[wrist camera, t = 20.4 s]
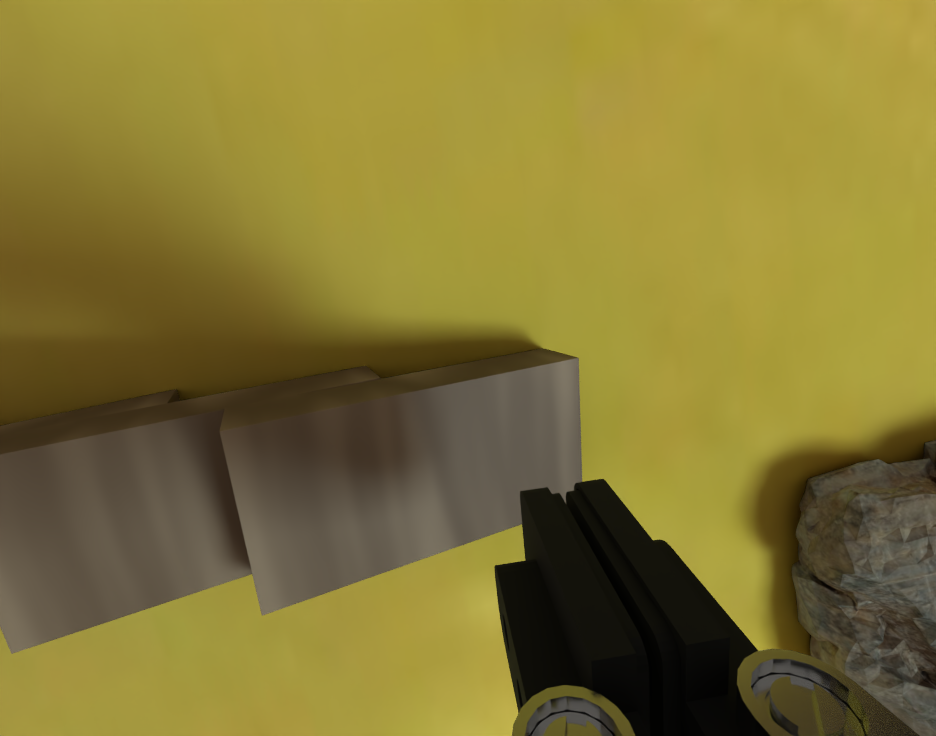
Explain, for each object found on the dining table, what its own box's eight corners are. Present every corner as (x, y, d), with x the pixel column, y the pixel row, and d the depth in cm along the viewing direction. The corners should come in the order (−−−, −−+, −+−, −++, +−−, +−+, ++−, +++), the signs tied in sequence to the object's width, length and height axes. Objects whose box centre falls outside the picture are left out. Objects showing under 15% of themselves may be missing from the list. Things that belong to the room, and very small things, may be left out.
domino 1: (380, 377, 14) (-66, 468, 10) (402, 524, 15) (11, 653, 11) (365, 365, 16) (-19, 438, 12) (386, 497, 17) (44, 601, 13)
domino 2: (578, 357, 14) (219, 431, 11) (582, 502, 16) (262, 615, 12) (542, 348, 16) (224, 408, 12) (548, 478, 17) (260, 570, 14)
